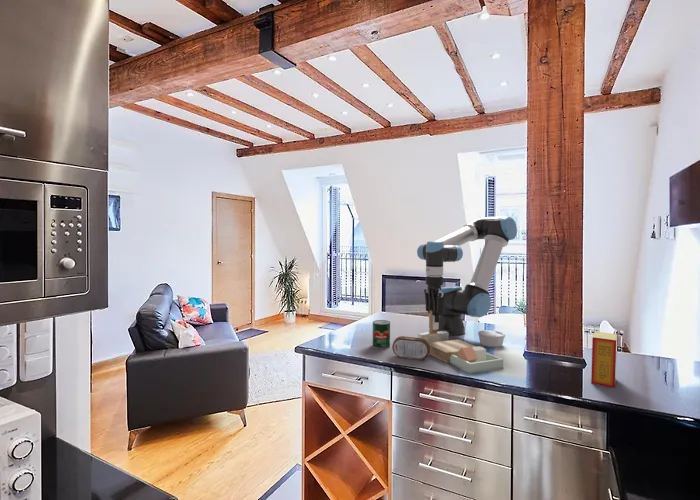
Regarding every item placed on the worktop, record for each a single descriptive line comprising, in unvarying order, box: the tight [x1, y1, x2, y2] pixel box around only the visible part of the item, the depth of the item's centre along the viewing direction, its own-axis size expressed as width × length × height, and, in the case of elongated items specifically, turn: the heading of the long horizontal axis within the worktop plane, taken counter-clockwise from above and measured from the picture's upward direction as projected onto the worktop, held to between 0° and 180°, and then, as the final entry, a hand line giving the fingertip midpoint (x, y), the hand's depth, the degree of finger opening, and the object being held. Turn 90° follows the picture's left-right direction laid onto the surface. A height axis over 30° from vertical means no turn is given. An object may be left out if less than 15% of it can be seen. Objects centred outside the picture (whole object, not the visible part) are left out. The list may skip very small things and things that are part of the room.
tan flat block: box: [428, 339, 476, 364], centre depth 160 cm, size 16×14×4 cm
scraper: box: [417, 310, 450, 343], centre depth 173 cm, size 14×3×14 cm, turn 111°
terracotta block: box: [456, 347, 478, 363], centre depth 146 cm, size 5×5×4 cm
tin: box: [392, 335, 430, 361], centre depth 156 cm, size 15×3×8 cm, turn 71°
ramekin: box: [477, 329, 506, 348], centre depth 176 cm, size 11×11×5 cm
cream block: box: [472, 345, 487, 362], centre depth 150 cm, size 5×5×4 cm
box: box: [449, 351, 504, 375], centre depth 147 cm, size 15×12×4 cm
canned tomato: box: [372, 319, 391, 350], centre depth 172 cm, size 8×8×11 cm
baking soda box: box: [590, 331, 618, 389], centre depth 132 cm, size 10×6×16 cm
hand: (433, 328), depth 173 cm, fingers closed on scraper, 2 cm apart
